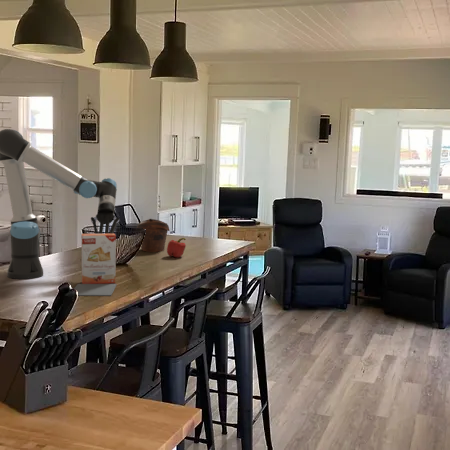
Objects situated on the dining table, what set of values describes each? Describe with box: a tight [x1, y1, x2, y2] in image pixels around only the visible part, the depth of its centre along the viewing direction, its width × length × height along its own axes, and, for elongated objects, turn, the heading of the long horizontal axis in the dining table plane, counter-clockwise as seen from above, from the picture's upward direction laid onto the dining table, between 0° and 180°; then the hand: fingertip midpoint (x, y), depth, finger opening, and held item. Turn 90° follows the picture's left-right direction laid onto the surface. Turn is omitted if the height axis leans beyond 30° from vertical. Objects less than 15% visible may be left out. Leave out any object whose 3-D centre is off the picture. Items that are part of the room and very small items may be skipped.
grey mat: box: [73, 283, 118, 297], centre depth 253 cm, size 16×20×1 cm
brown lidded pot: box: [136, 218, 170, 253], centre depth 355 cm, size 18×20×18 cm
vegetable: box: [166, 237, 187, 259], centre depth 334 cm, size 11×10×10 cm
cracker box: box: [81, 233, 117, 284], centre depth 265 cm, size 14×6×21 cm, turn 105°
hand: (102, 248), depth 275 cm, fingers closed
